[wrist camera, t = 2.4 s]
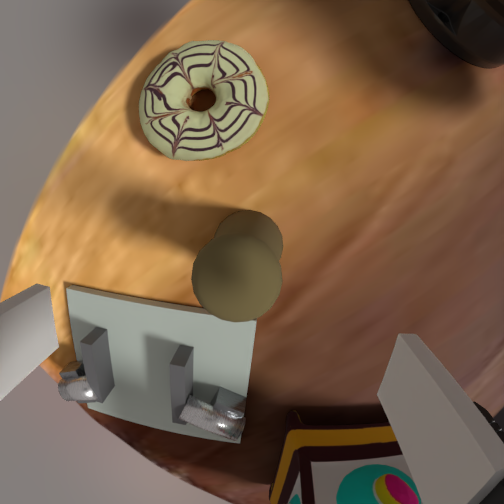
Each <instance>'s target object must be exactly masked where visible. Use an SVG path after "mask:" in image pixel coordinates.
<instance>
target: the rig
mask: <svg viewBox="0 0 504 504" xmlns="http://www.w3.org/2000/svg"><path fill="white" fill-rule="evenodd" d="M66 291H67V300H68V309H69V316H70V323H71V330H72V336H73V342H74V348H75V353H76V358H77V361H79V360H83V364H84V369H85V373H86V378H87V382H88V384H89V386H90V387H91V389H92V390H93V392H94V393H95V395H96V397H97V398H98V400H93V401H96V402H92V403H87V405H88V408H90V409H93V410H96V411H99V412H102V413H105V414H108V415H111V416H114V417H117V418H120V419H124V420H127V421H131V422H134V423H138V424H141V425H145V426H149V427H153V428H157V429H161V430H165V431H170V432H174V433H179V434H184V435H189V436H194V437H200V438H205V439H211V440H218V441H224V442H232V443H240V441H241V435H240V437H239V438H238V440H237V441H233V440H230V439H227V438H224V437H222V436H219V435H216V434H214V433H211V432H209V431H206V430H204V429H201V428H199V427H196V426H194V425H192V424H189V423H187V422H185V421H182V420H180V419H178V418H179V416H180V414H181V413H182V411H183V409H184V407H185V405H186V402H187V400H188V397H189V395H192V396H194V397H196V398H198V399H201V400H203V401H205V402H208V403H210V402H211V400H212V399H213V397H214V395H215V394H216V392H217V390H218V389H219V387H220V386H221V387H223V388H225V389H228V390H230V391H232V392H235V393H237V394H240V395H242V396H245V397H247V390H248V382H249V375H250V367H251V360H252V352H253V344H254V337H255V329H256V321H257V318H256V319H253V320H250V321H248V322H235V323H234V322H230V321H225V320H221V319H219V318H217V317H215V316H213V315H212V314H210V313H209V312H208V311H207V310H206V309H204V308H198V307H191V306H184V305H178V304H172V303H166V302H160V301H154V300H148V299H142V298H137V297H131V296H126V295H120V294H115V293H110V292H105V291H100V290H95V289H90V288H85V287H80V286H76V285H71V286H69V287H68V288H66ZM243 417H244V415H243Z"/></svg>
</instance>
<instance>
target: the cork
mask: <svg viewBox="0 0 504 504" xmlns="http://www.w3.org/2000/svg"><path fill="white" fill-rule="evenodd" d="M282 250H283V240H282V235H281V232H280V230H279V228H278V226H277V225H276V224H275V223H274V222H273V220H272V219H271V218H270V217H268V216H266V215H264V214H262V213H261V212H256V211H251V210H246V211H238V212H236V213H234V214H232V215H230V216H228V217H227V218H226V219H225V220H224V221H223V222H222V223H221V224H220V225H219V227H218V229H217V231H216V233H215V237H214V239H212V240H211V241H210V242H209V243H208V244H206V245H205V246H204V247H203V248H202V249H201V250H200V251H199V253H198V255H197V257H196V259H195V261H194V263H193V270H192V279H191V280H192V285H193V290H194V294H195V295H196V297H197V299H198V301H199V303H200V304H201V305H202V306H203V307H204V308H205V309H206V310H207V311H208V312H209V313H210V314H212V315H213V316H215V317H217V318H219V319H221V320H225V321H230V322H234V323H235V322H248V321H250V320H253V319H256V318H258V317H260V316H262V315H263V314H264V313H265V312H266V311H268V310H269V309H270V308H271V307H272V305H273V304H274V302H275V301H276V299H277V297H278V296H279V294H280V289H281V285H282V273H281V265H280V263H279V260H280V258H281V254H282Z"/></svg>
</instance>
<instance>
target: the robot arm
mask: <svg viewBox="0 0 504 504" xmlns="http://www.w3.org/2000/svg"><path fill="white" fill-rule="evenodd" d="M409 1H410V3H411V5H412V7H413V9H414V11H415V12H416V14H417V15H418V17H419V18H420V20H421V21H422V22H423V24H424V25H425V26H426V27H427V28H428V30H429V31H430V32H431V33H432V34H433V35H434V36H435V37H436V38H437V39H438V40H439V41H440V42H441V43H442V44H443V45H444V46H445V47H447V48H448V49H449V50H450V51H452V52H453V53H454V54H456V55H457V56H459V57H460V58H462V59H463V60H465V61H467V62H469V63H471V64H473V65H475V66H478V67H482V68H496V67H499V66H501V65H504V0H409ZM57 348H59V345H58V340H57V334H56V329H55V323H54V316H53V310H52V302H51V294H50V287H48V286H44V285H40V284H35V285H33V286H31V287H29V288H27V289H26V290H24V291H22V292H20V293H18V294H16V295H14V296H12V297H11V298H9V299H7V300H5V301H3V302H1V303H0V401H1V400H2V399H3V398H4V397H5V396H6V395H7V394H8V393H9V392H10V391H11V390H12V389H13V388H14V387H16V386H17V385H18V384H19V383H20V382H21V381H22V380H23V379H24V378H25V377H26V376H27V375H28V374H30V373H31V372H32V371H33V370H34V369H35V368H36V367H37V366H38V365H39V364H41V363H42V362H43V361H44V360H45V359H46V358H47V357H48V356H49V355H51V354H52V353H53V352H54V351H55V350H56V349H57ZM377 396H378V398H379V400H380V402H381V404H382V407H383V409H384V411H385V413H386V416H387V418H388V420H389V422H390V425H391V427H392V429H393V432H394V434H395V436H396V439H397V441H398V443H399V446H400V448H401V450H402V453H403V455H404V458H405V460H406V462H407V465H408V467H409V470H410V472H411V475H412V477H413V480H414V482H415V485H416V487H417V490H418V493H419V495H420V498H421V500H422V503H423V504H504V432H503V431H502V432H501V428H500V427H499V425H498V424H497V423H495V420H494V419H493V417H492V416H491V415H490V414H489V412H488V411H487V410H486V409H484V408H483V407H482V406H480V405H479V404H478V403H476V402H472V400H471V399H470V398H469V397H468V395H467V394H466V393H465V392H464V390H463V389H462V388H461V387H460V385H459V384H458V383H457V382H456V380H455V379H454V378H453V377H452V376H451V374H450V373H449V372H448V371H447V370H446V368H445V367H444V366H443V365H442V364H441V362H440V361H439V360H438V359H437V358H436V356H435V355H434V354H433V353H432V352H431V351H430V349H429V348H428V347H427V346H426V345H425V344H424V342H423V341H422V340H421V339H420V338H419V337H418V336H417V334H398V337H397V340H396V343H395V347H394V350H393V353H392V355H391V358H390V361H389V364H388V367H387V370H386V372H385V375H384V378H383V380H382V383H381V386H380V388H379V391H378V393H377Z"/></svg>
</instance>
